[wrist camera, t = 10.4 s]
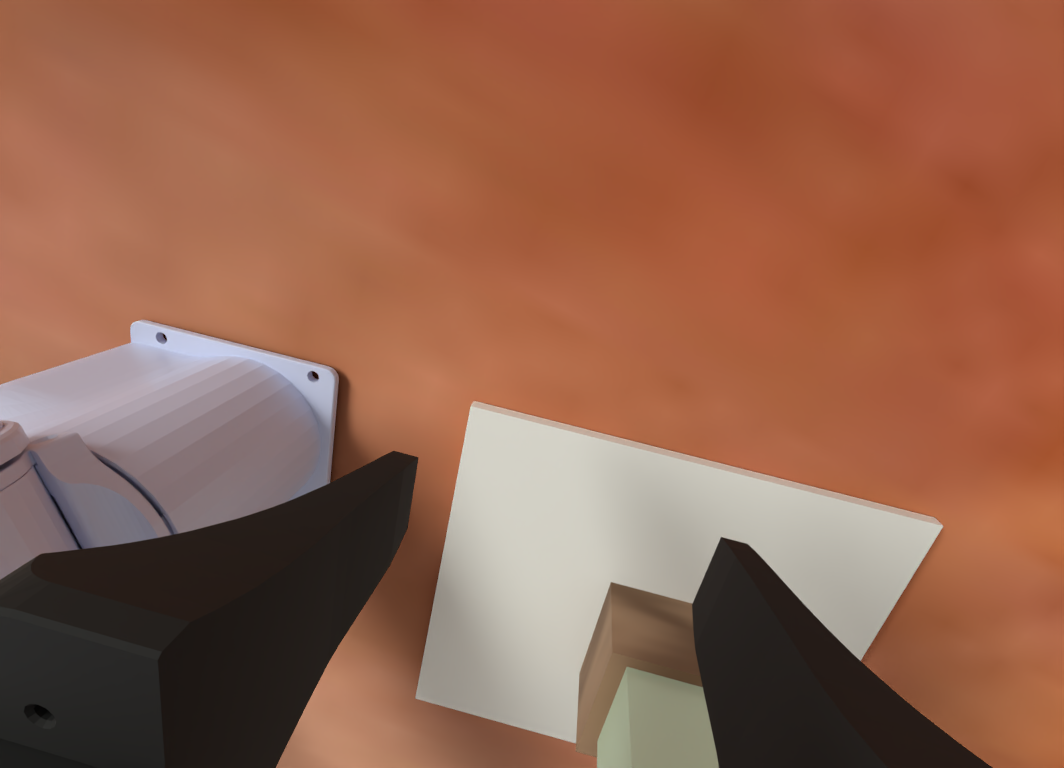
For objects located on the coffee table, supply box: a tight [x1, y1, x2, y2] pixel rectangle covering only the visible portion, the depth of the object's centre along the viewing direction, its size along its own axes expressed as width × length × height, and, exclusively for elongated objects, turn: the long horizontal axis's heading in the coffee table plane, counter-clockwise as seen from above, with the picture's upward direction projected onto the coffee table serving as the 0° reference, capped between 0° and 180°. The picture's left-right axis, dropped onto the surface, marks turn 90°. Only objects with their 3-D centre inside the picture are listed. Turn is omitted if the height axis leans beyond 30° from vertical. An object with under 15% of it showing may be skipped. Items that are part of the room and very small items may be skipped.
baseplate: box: [415, 401, 943, 743], centre depth 25 cm, size 20×18×1 cm
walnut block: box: [576, 582, 703, 757], centre depth 23 cm, size 6×6×4 cm
